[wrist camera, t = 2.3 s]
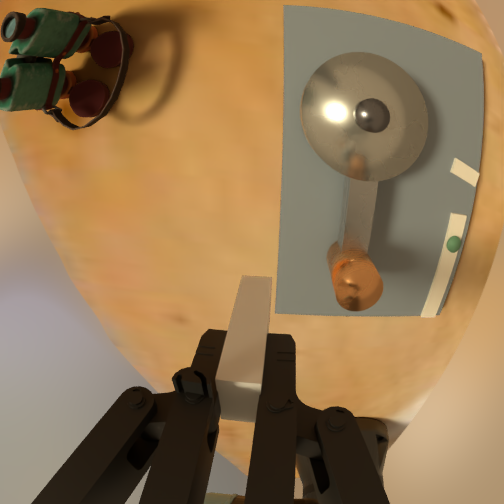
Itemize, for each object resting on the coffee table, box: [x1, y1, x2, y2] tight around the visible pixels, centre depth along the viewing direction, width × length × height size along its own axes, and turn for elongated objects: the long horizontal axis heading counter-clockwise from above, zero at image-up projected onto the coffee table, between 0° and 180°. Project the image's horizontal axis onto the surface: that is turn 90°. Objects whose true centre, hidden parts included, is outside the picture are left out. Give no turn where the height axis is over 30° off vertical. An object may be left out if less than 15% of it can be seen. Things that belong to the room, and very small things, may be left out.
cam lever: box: [299, 52, 428, 311], centre depth 16 cm, size 16×8×5 cm, turn 0°
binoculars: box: [0, 8, 134, 130], centre depth 13 cm, size 9×11×10 cm
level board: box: [275, 5, 484, 318], centre depth 18 cm, size 24×16×2 cm, turn 0°
